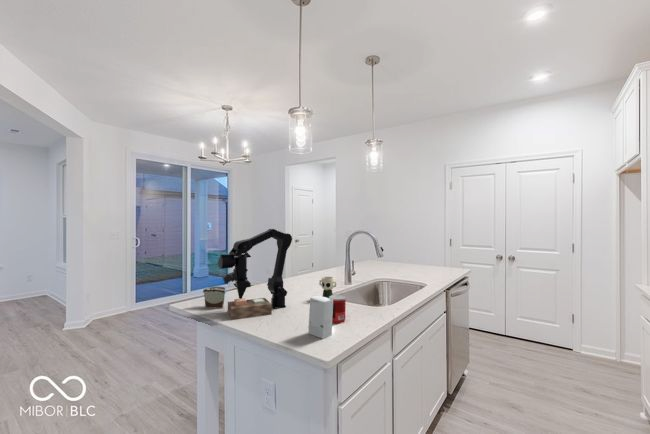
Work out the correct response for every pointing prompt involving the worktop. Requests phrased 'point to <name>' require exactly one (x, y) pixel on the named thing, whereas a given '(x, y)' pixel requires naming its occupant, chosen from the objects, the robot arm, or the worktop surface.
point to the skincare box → (320, 316)
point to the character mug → (327, 286)
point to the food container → (214, 297)
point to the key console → (249, 309)
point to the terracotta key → (239, 302)
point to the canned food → (338, 308)
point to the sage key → (258, 301)
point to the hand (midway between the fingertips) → (240, 298)
